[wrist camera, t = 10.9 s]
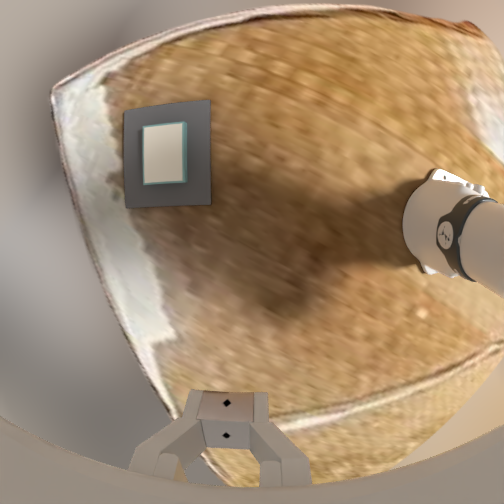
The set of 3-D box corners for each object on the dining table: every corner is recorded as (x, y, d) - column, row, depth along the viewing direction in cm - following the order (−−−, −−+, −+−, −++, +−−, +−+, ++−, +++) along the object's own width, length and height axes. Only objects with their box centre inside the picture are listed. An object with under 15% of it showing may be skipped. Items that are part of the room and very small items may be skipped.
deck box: (184, 121, 36) (142, 126, 36) (184, 182, 39) (142, 185, 39) (187, 123, 38) (146, 127, 38) (187, 182, 40) (147, 184, 41)
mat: (210, 100, 38) (209, 99, 37) (211, 204, 42) (210, 204, 41) (126, 111, 38) (124, 110, 37) (127, 207, 42) (125, 208, 42)
